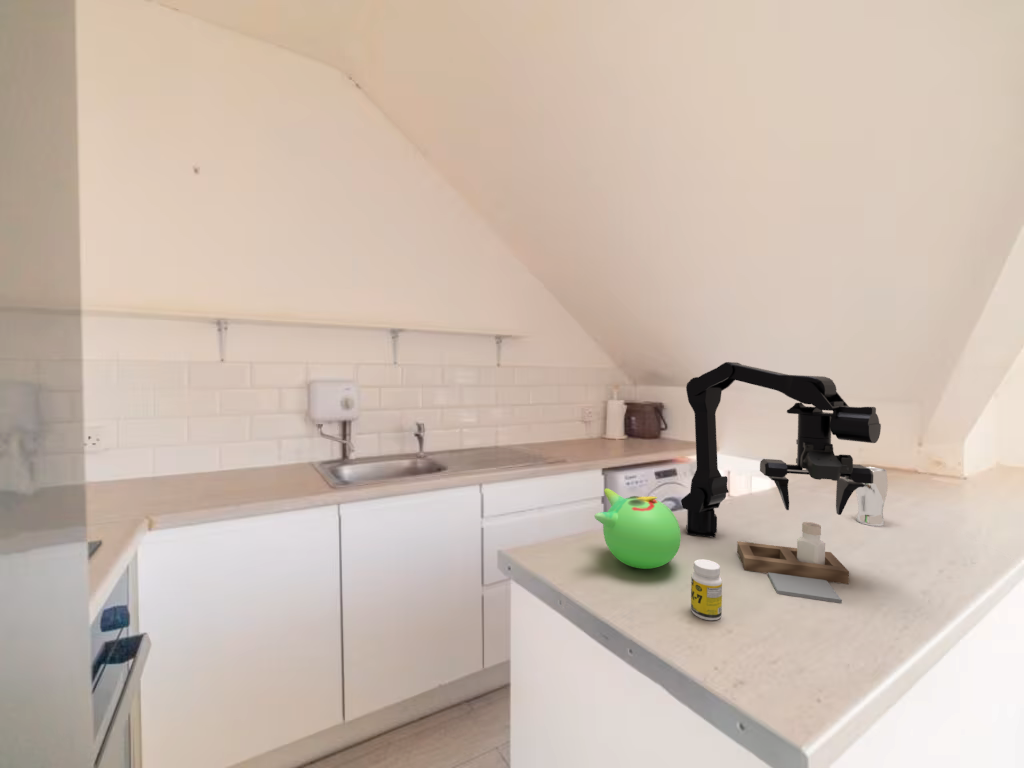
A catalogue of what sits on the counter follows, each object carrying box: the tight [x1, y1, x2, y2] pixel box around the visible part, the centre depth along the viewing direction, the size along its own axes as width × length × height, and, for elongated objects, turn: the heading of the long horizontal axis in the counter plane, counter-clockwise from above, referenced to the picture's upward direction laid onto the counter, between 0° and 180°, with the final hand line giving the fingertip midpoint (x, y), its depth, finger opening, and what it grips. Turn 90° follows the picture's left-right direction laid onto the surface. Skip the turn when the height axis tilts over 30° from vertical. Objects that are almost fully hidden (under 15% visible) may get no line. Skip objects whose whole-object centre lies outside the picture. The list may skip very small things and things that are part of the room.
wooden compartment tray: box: [736, 540, 850, 585], centre depth 93 cm, size 18×10×2 cm, turn 71°
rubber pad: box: [767, 572, 843, 604], centre depth 84 cm, size 10×8×1 cm
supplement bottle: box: [690, 558, 723, 621], centre depth 74 cm, size 5×5×8 cm
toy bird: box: [594, 487, 682, 570], centre depth 94 cm, size 18×17×15 cm
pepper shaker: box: [796, 521, 826, 565], centre depth 92 cm, size 4×4×10 cm
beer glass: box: [855, 465, 889, 527], centre depth 122 cm, size 7×7×15 cm
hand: (812, 511), depth 92 cm, fingers open, 9 cm apart
